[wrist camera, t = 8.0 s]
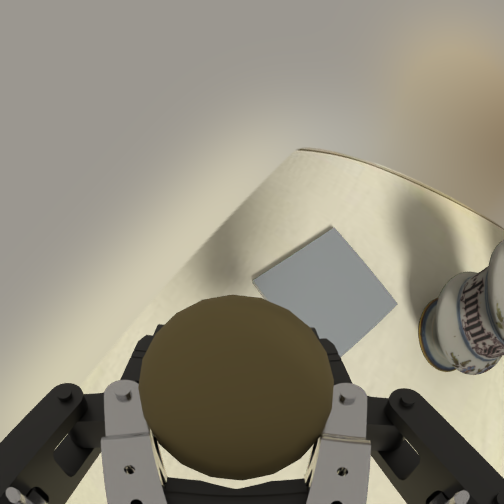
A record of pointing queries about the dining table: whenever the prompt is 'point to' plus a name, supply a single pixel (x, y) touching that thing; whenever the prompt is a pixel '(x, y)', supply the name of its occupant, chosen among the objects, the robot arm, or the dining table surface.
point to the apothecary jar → (467, 320)
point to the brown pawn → (236, 387)
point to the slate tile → (328, 290)
